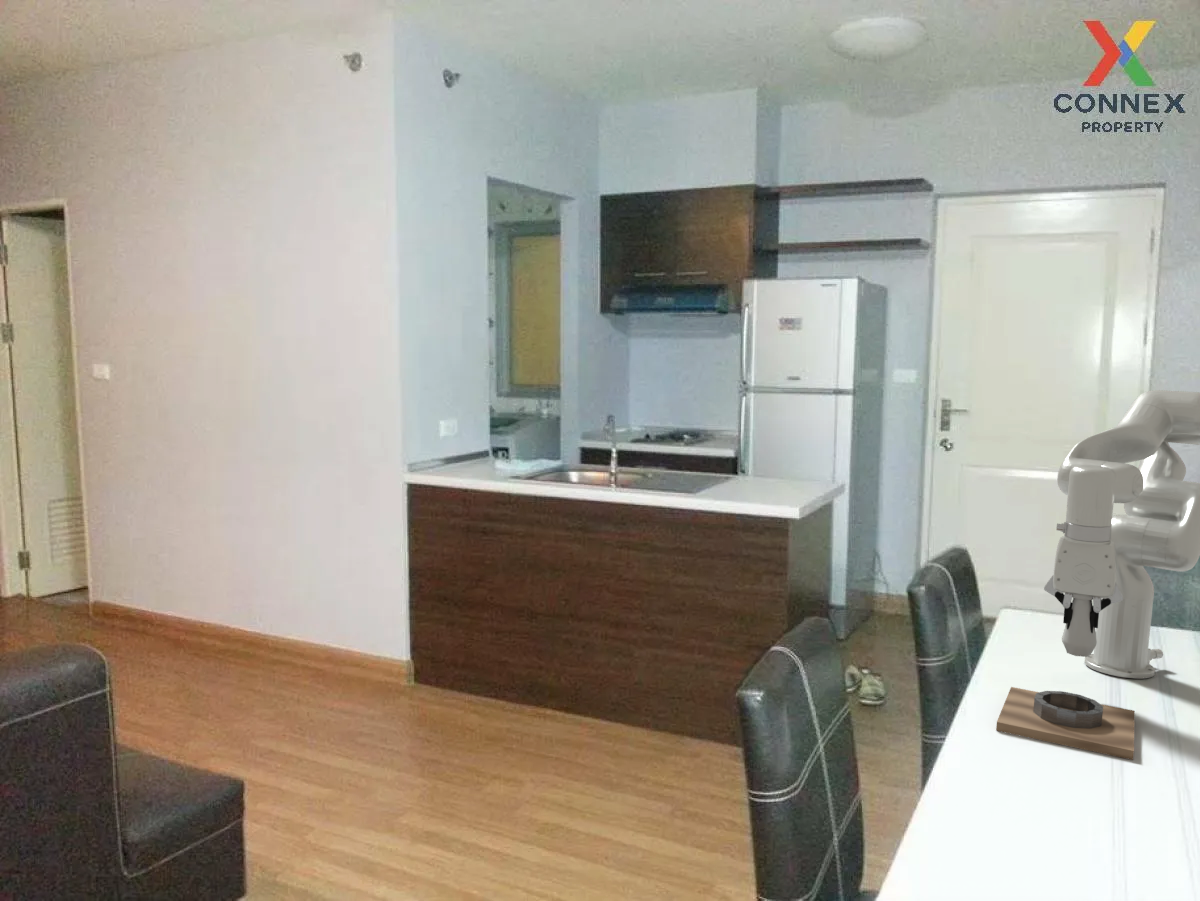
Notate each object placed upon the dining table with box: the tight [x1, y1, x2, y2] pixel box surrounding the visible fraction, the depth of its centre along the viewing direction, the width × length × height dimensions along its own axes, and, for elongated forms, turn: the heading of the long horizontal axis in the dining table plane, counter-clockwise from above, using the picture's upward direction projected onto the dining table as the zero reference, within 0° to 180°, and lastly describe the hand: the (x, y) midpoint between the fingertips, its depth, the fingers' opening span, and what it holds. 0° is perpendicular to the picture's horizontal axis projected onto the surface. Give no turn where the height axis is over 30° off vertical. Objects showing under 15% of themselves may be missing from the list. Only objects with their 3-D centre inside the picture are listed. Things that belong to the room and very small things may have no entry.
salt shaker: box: [1061, 594, 1097, 658], centre depth 174 cm, size 6×6×13 cm
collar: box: [1033, 690, 1103, 729], centre depth 160 cm, size 10×10×2 cm
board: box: [995, 686, 1136, 761], centre depth 160 cm, size 20×20×2 cm
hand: (1080, 628), depth 174 cm, fingers closed on salt shaker, 3 cm apart
